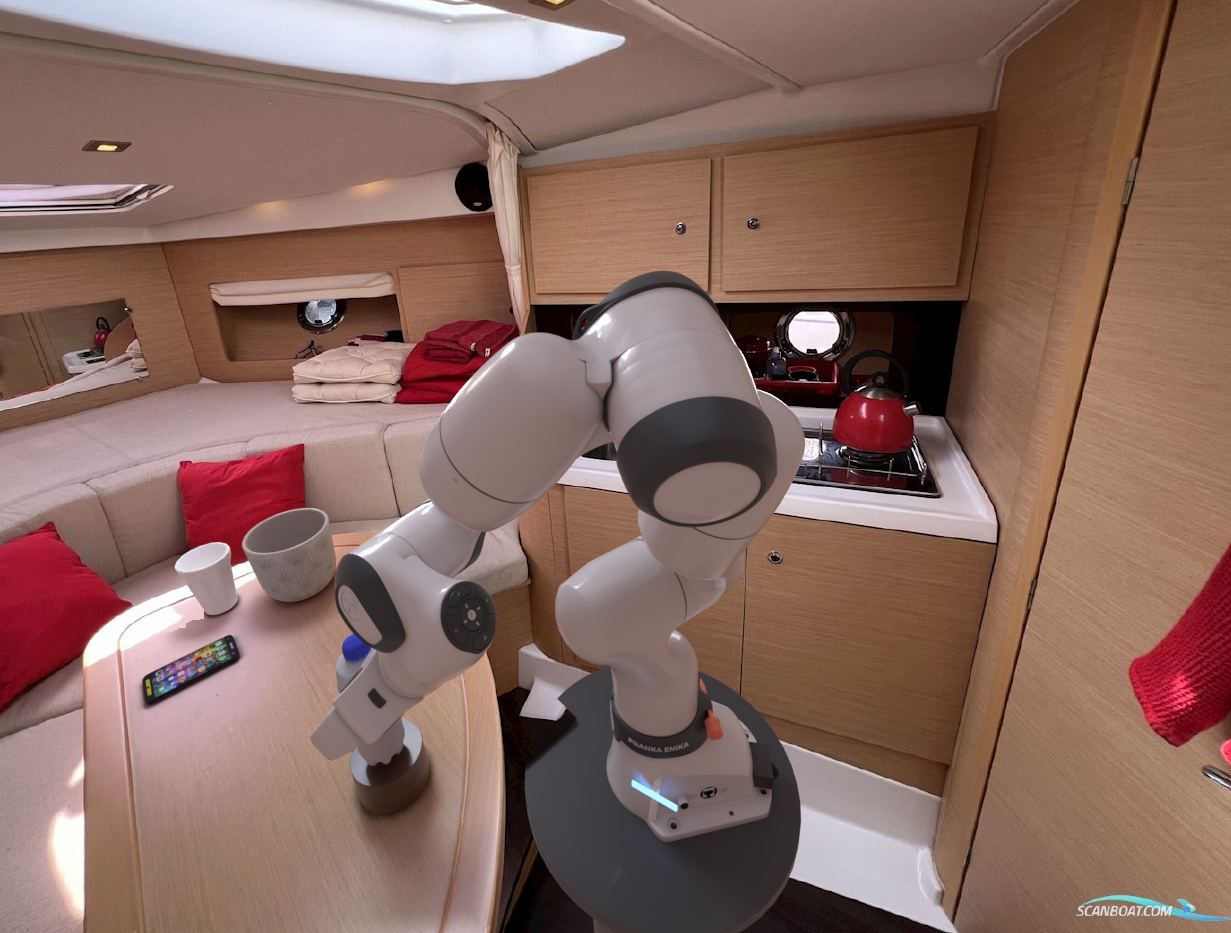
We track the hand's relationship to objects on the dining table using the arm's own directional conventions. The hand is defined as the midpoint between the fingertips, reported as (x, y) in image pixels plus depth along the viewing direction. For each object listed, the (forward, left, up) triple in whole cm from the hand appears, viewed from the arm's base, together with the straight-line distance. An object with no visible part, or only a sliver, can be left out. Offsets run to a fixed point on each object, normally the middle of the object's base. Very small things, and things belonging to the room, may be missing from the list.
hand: (366, 692), depth 72 cm
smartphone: (+45, -21, -17) cm, 52 cm away
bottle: (0, +1, -11) cm, 11 cm away
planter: (+34, -43, -17) cm, 57 cm away
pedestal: (0, 0, -17) cm, 17 cm away
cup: (+50, -38, -17) cm, 65 cm away
